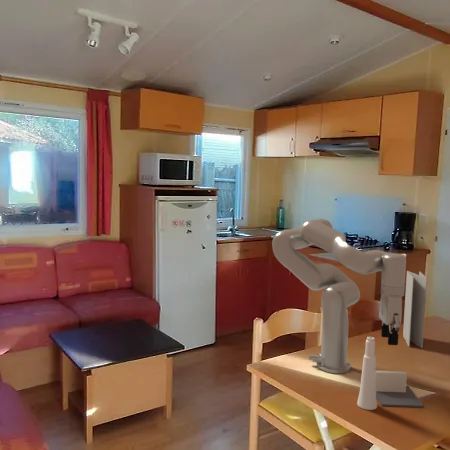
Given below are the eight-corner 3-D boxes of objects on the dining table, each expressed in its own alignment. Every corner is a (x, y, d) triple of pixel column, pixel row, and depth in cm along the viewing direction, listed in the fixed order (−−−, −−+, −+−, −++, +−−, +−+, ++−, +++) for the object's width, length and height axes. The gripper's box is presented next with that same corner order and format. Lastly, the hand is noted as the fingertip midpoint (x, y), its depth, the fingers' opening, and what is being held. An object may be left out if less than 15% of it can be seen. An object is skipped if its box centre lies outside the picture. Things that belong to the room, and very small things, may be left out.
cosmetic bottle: (381, 407, 145) (385, 339, 142) (368, 412, 141) (372, 342, 139) (365, 399, 150) (369, 333, 147) (353, 403, 146) (356, 336, 144)
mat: (381, 405, 145) (381, 404, 145) (369, 385, 159) (369, 384, 159) (423, 407, 145) (423, 405, 145) (407, 387, 159) (408, 385, 159)
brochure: (422, 348, 195) (427, 278, 192) (408, 347, 196) (413, 277, 193) (415, 336, 209) (420, 271, 206) (402, 335, 210) (406, 270, 207)
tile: (375, 391, 154) (376, 372, 153) (373, 388, 156) (374, 370, 155) (405, 392, 153) (406, 373, 153) (403, 389, 155) (404, 371, 155)
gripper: (374, 283, 166) (371, 331, 168) (389, 296, 149) (385, 350, 151) (395, 284, 166) (392, 332, 168) (412, 297, 148) (409, 350, 150)
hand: (389, 340), depth 159 cm, fingers open, 6 cm apart
